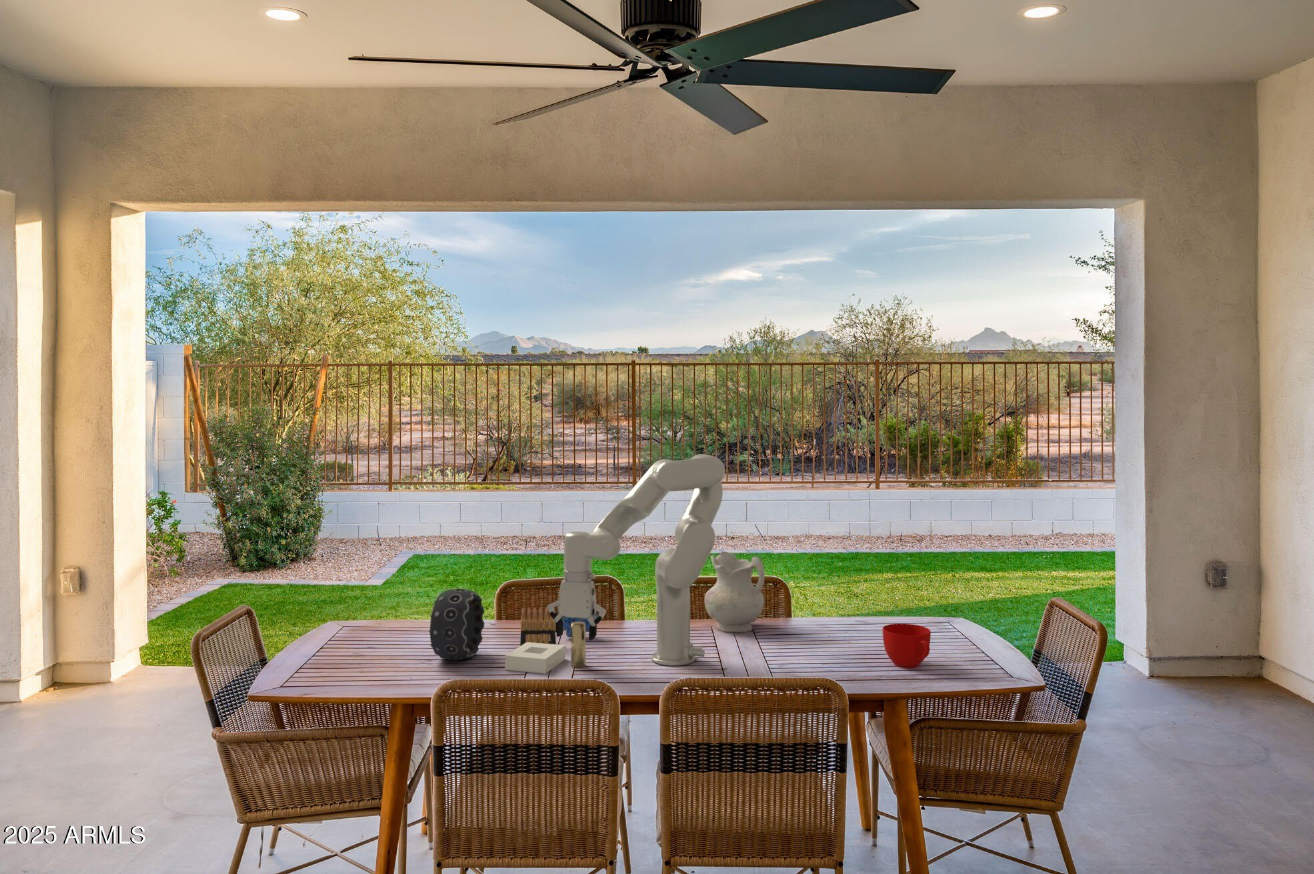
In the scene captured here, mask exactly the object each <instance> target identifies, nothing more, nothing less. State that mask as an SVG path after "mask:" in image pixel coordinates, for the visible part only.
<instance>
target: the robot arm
mask: <svg viewBox="0 0 1314 874" xmlns="http://www.w3.org/2000/svg"><path fill="white" fill-rule="evenodd" d="M725 474H726V468H725V465H724V463H723V462H722V460H721V459H719V458H718V457H716V456H713V455H709V454H704V453H702V454H701V453H699V454H696V455H693V456H692V457H691V458H688V459H679V460H672V459H666V458H665V459H663V458H661V459H658V460H656V461H655V462H654V463H653V464H652V465H651V466H650V467H649V468H648V470H646V472H645V473H644V474H643V476H641V478H640V479H639V480H638V481H637V483H636V484H635V485H634V487H632V489H631V490H630V491H629V492H628V493H627V494H626V496H625V497H623V498H622V499H621V500H620V501H619V502H618V503H617V504H616V505H615V506H614V507H613V508H612V509H611V510H610V511H609V512H608V513H607V514H606V515H605V516H604V518H603V519H601V521H600V522H599V524H598V525H596V527H595V529H594V530H593V531H592V533H591V534H590V533H589V532H586V531H570V532H567V533H566V534H565V536H564V545H563V546H564V547H563V548H564V550H563V551H564V552H563V553H564V554H563V556H564V558H563V565H564V566H563V579H562V580H561V581H560V585H559V591H558V599H557V600H556V601H554V602H551V603H549V604H548V605H547V606H546V607H547V608H548V612H549V617H550V618H551V617H552V618H553V619H554V622H555V632H556V638H558V637H561V636H562V635H564V631H563V622H564V621H563V620H562V618H563V617H572V618H583V619H587V620H588V621H589V622H590V624H591V626H589V632H588V640H589V641H593V640H594V639H596V637H597V635H598V634H597V631H598V624H599V623H601V621H602V620H603V619H604V618H605V617H604V616H605V615H606V613H607V609H605V608H604V607H602V606H601V605H599V604H598V603H597V597H596V587H595V581H593V579H596V573H593V571H592V559H595V560H602V561H609V560H613V559H614V558H616V557H617V556H618V555H619V553H620V551H621V541H620V539H621V537H623V535H624V534H626V532H627V531H628V530H629V529H630V528H631V527H632V526H633V525H635V524H637V523H638V522H641V521H643V520H644V519H646V518H647V517H649V516H650V515H651V514H652V513H653V511H654V510H655V509H656V508H657V507H658V505H659V504H660V503H661V502H662V501H663V499H664V498H665V497H666V496H667V495H668V494H669V492H682V491H689V490H693V491H692V495H691V498H690V500H689V502H688V504H687V507H686V509H685V510H684V512H683V513H682V515H681V518H680V520H679V521H678V524H677V525H676V527H675V530H674V537H675V540H676V542H677V544H676V546H675V547H674V548H669V549H666V550H663V551H662V552H661V553H660V554H659V555H658V557H657V558H656V561H655V566H654V573H655V574H654V576H655V584H656V651H655V652H654V653H652V654H651V661H652V662H653V663H655V664H658V665H663V666H671V667H672V666H674V667H675V666H685V665H689V664H691V663H694V662H695V660H696V657H700V658H704V657H705V649H703V648H702V647H701V648H700V647H695V646H694V642H691V591H690V590H691V589H690V588H691V587H692V585H693V584H694V583H695V582H696V581H697V580H698V577H699V576H700V574H701V572H702V570H703V568H704V567H705V564H706V563H707V560H708V559H709V557H710V556H711V555H710V554H711V552H712V550H713V548H714V545H715V541H716V534H715V529H714V528H713V526H712V524H713V523H714V521H715V519H716V516H717V513H718V511H719V509H720V507H721V503H722V501H723V484H722V481H723V479H724V477H725ZM555 607H557V612H556V610H555ZM597 612H598V615H597V616H598V617H597V618H596V617H595V616H594V615H595V614H597Z"/></svg>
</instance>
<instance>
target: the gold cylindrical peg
mask: <svg viewBox="0 0 1314 874" xmlns="http://www.w3.org/2000/svg"><path fill="white" fill-rule="evenodd" d="M586 642H587V641H586V631H585V622H572V623H571V637H570V651H571V652H570V653H571V654H570V656H571V657H570V660H571V661H570V663H571V664H570V666H571V668H573V669H582V668H585V667H586V665H587V662H586V661H587V660H586V659H587V658H586V657H587V656H586V654H587V653H586V650H587V649H586V648H587V647H586V646H587V645H586Z"/></svg>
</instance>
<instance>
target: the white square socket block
mask: <svg viewBox="0 0 1314 874" xmlns="http://www.w3.org/2000/svg"><path fill="white" fill-rule="evenodd" d="M504 656H505V657H504V659H505V660H504V662H505V664H504V665H505V666H504V668H505V671H512V672H513V671H514V672H524V673H535V674H536V673H537V674H548V672H550V671H551V670H553V669H554V668H555V667H557V666H558V665H560V664H561V663H563V661H565V660H566V645H565V644H557V643H556V644H544V643H532V642H527V641H526V643H525V644H523V645H522V646H520V645H519V646H518V647H517V648H515V649H513V650H512V651H510V652H509V653H507V654H505V655H504Z"/></svg>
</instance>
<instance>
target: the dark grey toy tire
mask: <svg viewBox="0 0 1314 874" xmlns="http://www.w3.org/2000/svg"><path fill="white" fill-rule="evenodd" d="M482 602H483V598H482V597H481V596H480V595H479V593H478V592H475V591H473V590H470V589H466V588H452V589H450V588H448V589H445V591H444V592H440V593H439V594H438V596H437V598H436V599H435V600H433V606H432V610H431V613H430V615H429V616H430V620H429V621H430V622H429V623H430V624H429V629H428V633H429V638H430V639H429V640H430V647H431V648H432V651H433V652H434V655H437V656H439V657H440V658H441V659H442V660H443V659H446V660H450V661H462V660H468V659H469V658H472V657H474V655H476V654H477V653H478V652H479V649H480V648H479V645H480V644H481V643H482V642H483V636H482V632H483V630H484V628H485V621H484V619H483V615H484V613H485V608H484V605H482Z"/></svg>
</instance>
